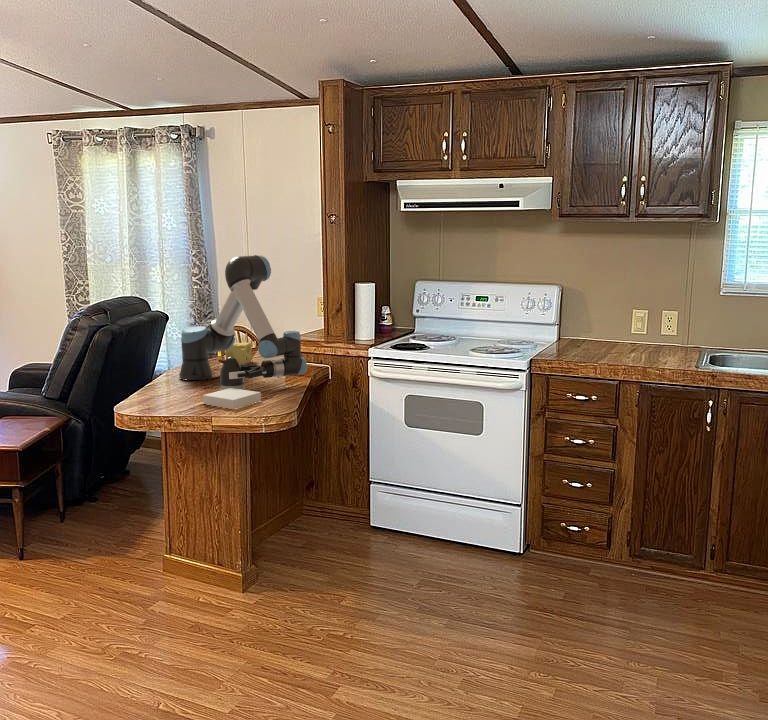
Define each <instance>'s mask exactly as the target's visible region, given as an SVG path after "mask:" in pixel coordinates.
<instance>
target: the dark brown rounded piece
mask: <svg viewBox="0 0 768 720" xmlns="http://www.w3.org/2000/svg"><path fill="white" fill-rule="evenodd" d="M218 363H221V364H222V366H221V367H222V369H221V373H220V372H219V375H220V376H219V386H220V389H221V390H225V389H228V388H235V389H242V390H243V387H244V384H245V378H237V379H229V373H230V372H240V371H242V369H241V367H240V364H239V362H238V361H237V359H236V358H234V357H228V358H227V359H226V358H225V360H223V359H218Z"/></svg>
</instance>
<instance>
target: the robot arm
mask: <svg viewBox="0 0 768 720" xmlns="http://www.w3.org/2000/svg"><path fill="white" fill-rule="evenodd" d="M271 274H272V268H271V264H270V262H269V260H268V259H267V257H265V256H263V255H259V254H258V255H257V254H255V255H243V256H241V255H240V256H239V255H238V256H235V257H232V258H231V259H230V260H229V261H228V262H227V264H226V266H225V270H224V277H225V282H226V284H227V287H228V288H229V290H230V292H229V294H228V297H227V298H226V299H225V302H224V304H223V306H222V308H221V309H220V312H219V314H218V316H217V318H216V319H213V320H212V321H211V322H210V324H209V327H206V326H202V325H199V326H197V325H196V326H190V327H187V328H185V329H183V330H182V331H181V339H180V341H181V355H182V356H181V357H182V359H181V360H182V363H181V367H180V371H179V374H178V378H181V379H187V380H203V381H207V380H206V379H208V380H211V379H213V377H214V374H213V371H212V368H211V366H210V362H209V354H212V353H213V354H214V353H218V352H224V351H225V352H226V350H228V349H230V348H231V347H232V346H233V344H234V343H236V342H235V341H236V334H235V332H236V331H235V325H236V324H237V321H238V320H239V317H240V316H241V314H242V312H243V313H244V314H245V316H246V318H247V320H248V322H249V324H250V326H251V328H252V330H253V331H254V334H255V336H256V338H257V340H258V342H259V344H258V346H257V349H258V350H257V351H258V353H259V355H260V356H261V358H264V359H266V360H263V361H262V362H261V363H260V365H259V364H256V363H253V364H245V365H240V367H241V369H242V371H240V372H230V373H229V379H237V378H244V379H245V378H246V379H254V378H258V377H263V378H265V379H267V378H268V379H269V378H277V379H279V378H280V377H287V376H298V375H303V374H306V372H307V369H308V363H307V360H306V358H305V357H302V344H301V343H302V339H301V333H300V331H298V330H287V331H284V332H283V334H282V337H277V335H276V333H275V330H274V329H273V327H272V325H271V324H270V322H269V319H268V317H267V315H266V314H265V312H264V309H263V308H262V306H261V304H260V301H259V299H258V298H257V296H256V294H255V292H254V291H256V290H258V289H259V287H260V285H261V284H262V282H266V281H267V280H270V279H269V278H270V276H271ZM279 356H283V358H279V359H277V358H276V359H271V358H275V357H279ZM267 359H269V360H267ZM221 369H222V366H219V369H218V370H219V374H220V373H221Z"/></svg>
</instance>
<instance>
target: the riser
mask: <svg viewBox="0 0 768 720" xmlns="http://www.w3.org/2000/svg"><path fill="white" fill-rule="evenodd" d="M261 395H262V392H261V391H255V390H254V391H253V390H248V389H243V388H242V389H235V388H228V389H225V390H222V389H221V390H218V391H214V392H213V391H212V392H209V393H206V394H203V395H202V398H203V399H202V402H203V403H202V404H207V405H212V406H211V407H213V406H219V407H224V408H223V409H225V408H230V409H235V408H239V407H242V406H245V405H249V404H252V403H255V402H259V401H261V402H262V400H261V399H262V396H261ZM259 403H260V402H259ZM207 405H206V406H207ZM252 405H253V404H252ZM249 406H250V405H249ZM219 407H218V408H219ZM242 408H243V407H242ZM230 409H229V410H230ZM239 409H240V408H239Z"/></svg>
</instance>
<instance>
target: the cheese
mask: <svg viewBox="0 0 768 720" xmlns="http://www.w3.org/2000/svg"><path fill="white" fill-rule="evenodd" d="M252 356H253V348H252V343H251V342H234V344H233V346H232V347H231V348H230V349H228V350H225V360H226V359H227V358H228V357H234V358H236V359H237V361H238V362H239V364H240V365H248V364H249V363H252Z"/></svg>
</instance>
